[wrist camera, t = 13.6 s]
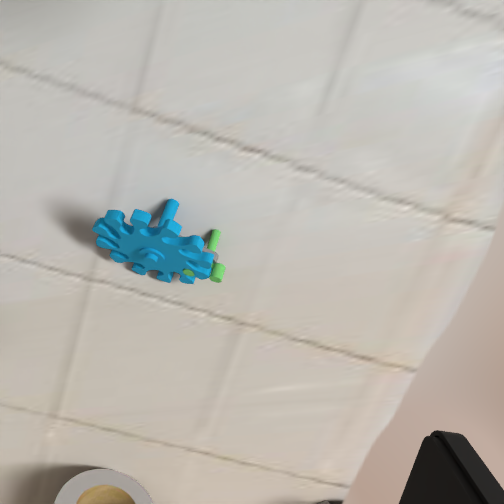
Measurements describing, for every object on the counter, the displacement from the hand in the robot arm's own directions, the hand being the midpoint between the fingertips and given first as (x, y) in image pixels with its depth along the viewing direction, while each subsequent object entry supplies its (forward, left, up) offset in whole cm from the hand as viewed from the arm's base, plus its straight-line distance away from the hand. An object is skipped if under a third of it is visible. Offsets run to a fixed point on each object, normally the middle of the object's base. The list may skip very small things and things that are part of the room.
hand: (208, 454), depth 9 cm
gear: (+5, -4, -31) cm, 31 cm away
